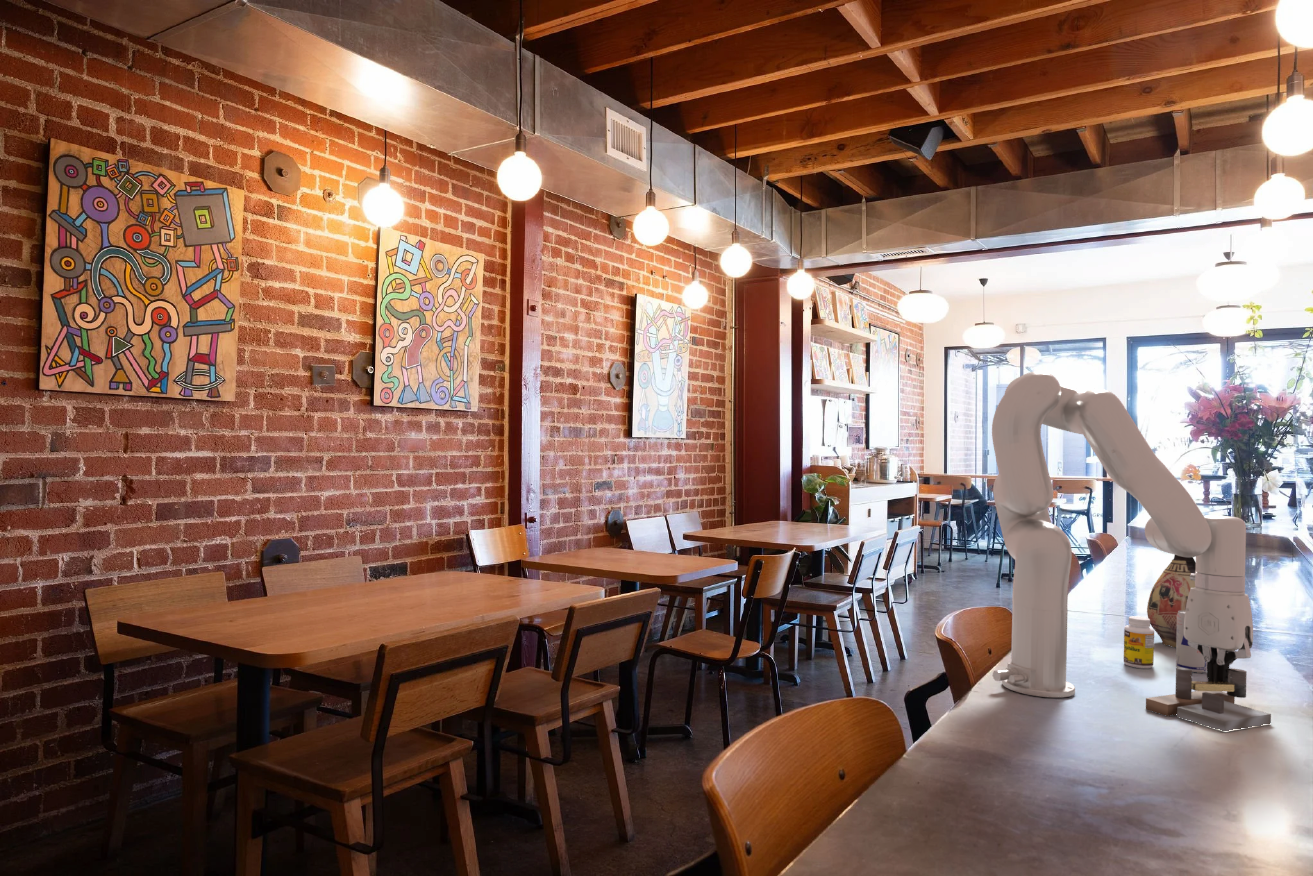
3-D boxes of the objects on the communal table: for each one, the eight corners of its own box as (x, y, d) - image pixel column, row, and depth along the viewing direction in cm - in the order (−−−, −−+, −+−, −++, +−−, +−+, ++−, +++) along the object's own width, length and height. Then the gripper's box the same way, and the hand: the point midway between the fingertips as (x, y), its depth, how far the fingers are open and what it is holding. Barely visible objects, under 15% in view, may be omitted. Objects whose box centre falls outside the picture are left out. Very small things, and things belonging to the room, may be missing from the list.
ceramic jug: (1131, 641, 204) (1133, 517, 204) (1172, 636, 210) (1175, 516, 211) (1202, 658, 188) (1204, 524, 189) (1244, 652, 195) (1246, 523, 195)
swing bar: (1197, 696, 148) (1197, 671, 148) (1186, 692, 150) (1187, 667, 150) (1249, 697, 148) (1250, 672, 148) (1238, 693, 151) (1239, 668, 151)
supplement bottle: (1117, 663, 181) (1118, 615, 181) (1137, 662, 183) (1138, 614, 183) (1139, 670, 176) (1140, 621, 176) (1159, 668, 178) (1160, 620, 178)
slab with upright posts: (1220, 733, 136) (1221, 689, 136) (1145, 709, 148) (1146, 669, 148) (1288, 721, 143) (1289, 680, 143) (1212, 699, 155) (1212, 661, 155)
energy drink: (1204, 674, 173) (1205, 616, 173) (1174, 670, 177) (1175, 612, 177) (1207, 669, 178) (1208, 612, 178) (1177, 665, 181) (1178, 609, 181)
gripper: (1166, 578, 159) (1164, 676, 158) (1249, 591, 145) (1247, 698, 145) (1193, 577, 161) (1191, 672, 161) (1276, 589, 148) (1274, 694, 148)
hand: (1217, 684), depth 153 cm, fingers closed
